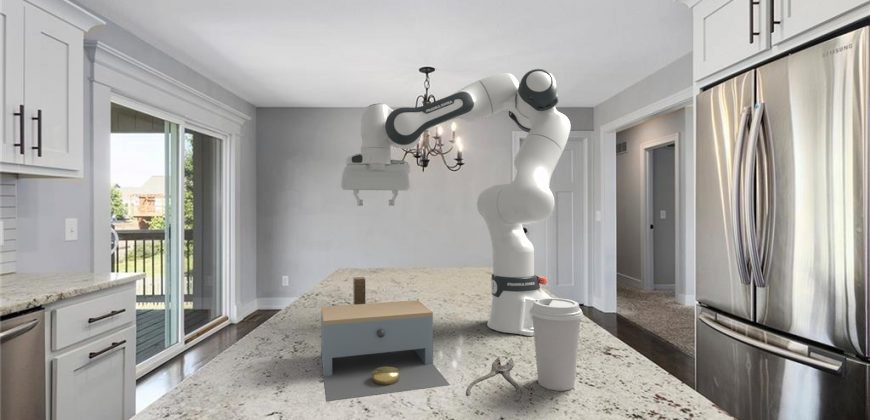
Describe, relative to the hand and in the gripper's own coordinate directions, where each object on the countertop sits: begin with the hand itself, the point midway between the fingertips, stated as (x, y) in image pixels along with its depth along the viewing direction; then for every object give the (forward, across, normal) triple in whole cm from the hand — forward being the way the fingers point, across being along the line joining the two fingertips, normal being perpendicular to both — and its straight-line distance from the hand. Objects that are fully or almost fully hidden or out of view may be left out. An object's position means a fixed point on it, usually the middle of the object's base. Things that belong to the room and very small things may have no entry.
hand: (375, 205), depth 127 cm
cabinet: (+33, +6, +36) cm, 49 cm away
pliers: (+34, -14, +52) cm, 63 cm away
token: (+33, +6, +47) cm, 58 cm away
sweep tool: (+33, +6, +18) cm, 38 cm away
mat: (+33, +6, +40) cm, 53 cm away
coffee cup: (+33, -24, +58) cm, 71 cm away
